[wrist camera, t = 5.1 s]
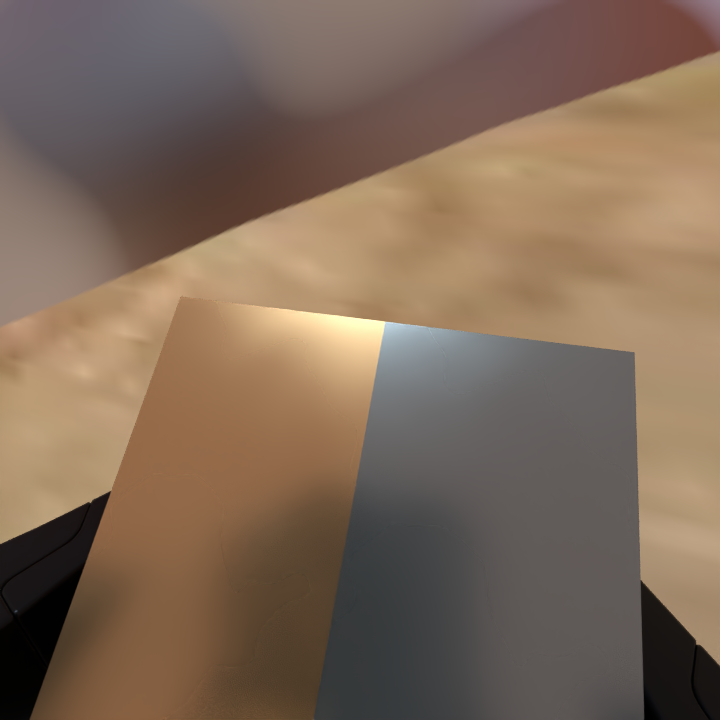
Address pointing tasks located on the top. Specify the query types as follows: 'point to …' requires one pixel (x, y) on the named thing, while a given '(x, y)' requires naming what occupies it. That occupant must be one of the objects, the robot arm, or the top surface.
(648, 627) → the robot arm
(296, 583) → the two-tone metal block
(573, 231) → the top surface
